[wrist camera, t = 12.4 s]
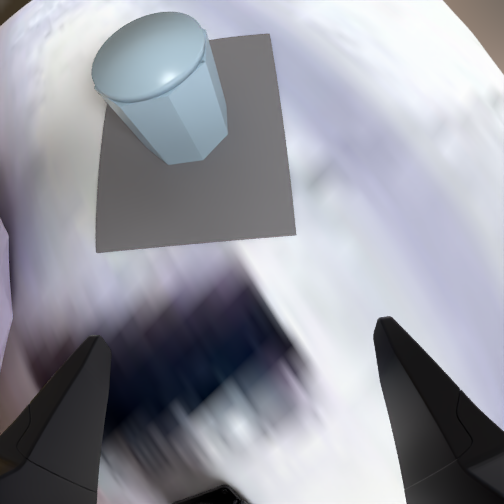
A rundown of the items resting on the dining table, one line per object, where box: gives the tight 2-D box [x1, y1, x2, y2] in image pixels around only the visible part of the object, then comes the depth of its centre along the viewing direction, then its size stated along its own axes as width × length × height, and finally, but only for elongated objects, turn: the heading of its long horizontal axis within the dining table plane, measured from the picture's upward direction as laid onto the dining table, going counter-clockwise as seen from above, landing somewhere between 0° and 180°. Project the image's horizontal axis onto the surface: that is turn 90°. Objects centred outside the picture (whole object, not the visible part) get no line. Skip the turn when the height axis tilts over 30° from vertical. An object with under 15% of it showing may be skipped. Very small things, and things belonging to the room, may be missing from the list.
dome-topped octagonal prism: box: [92, 12, 228, 165], centre depth 20 cm, size 7×7×10 cm
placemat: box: [96, 34, 296, 253], centre depth 25 cm, size 20×16×1 cm
